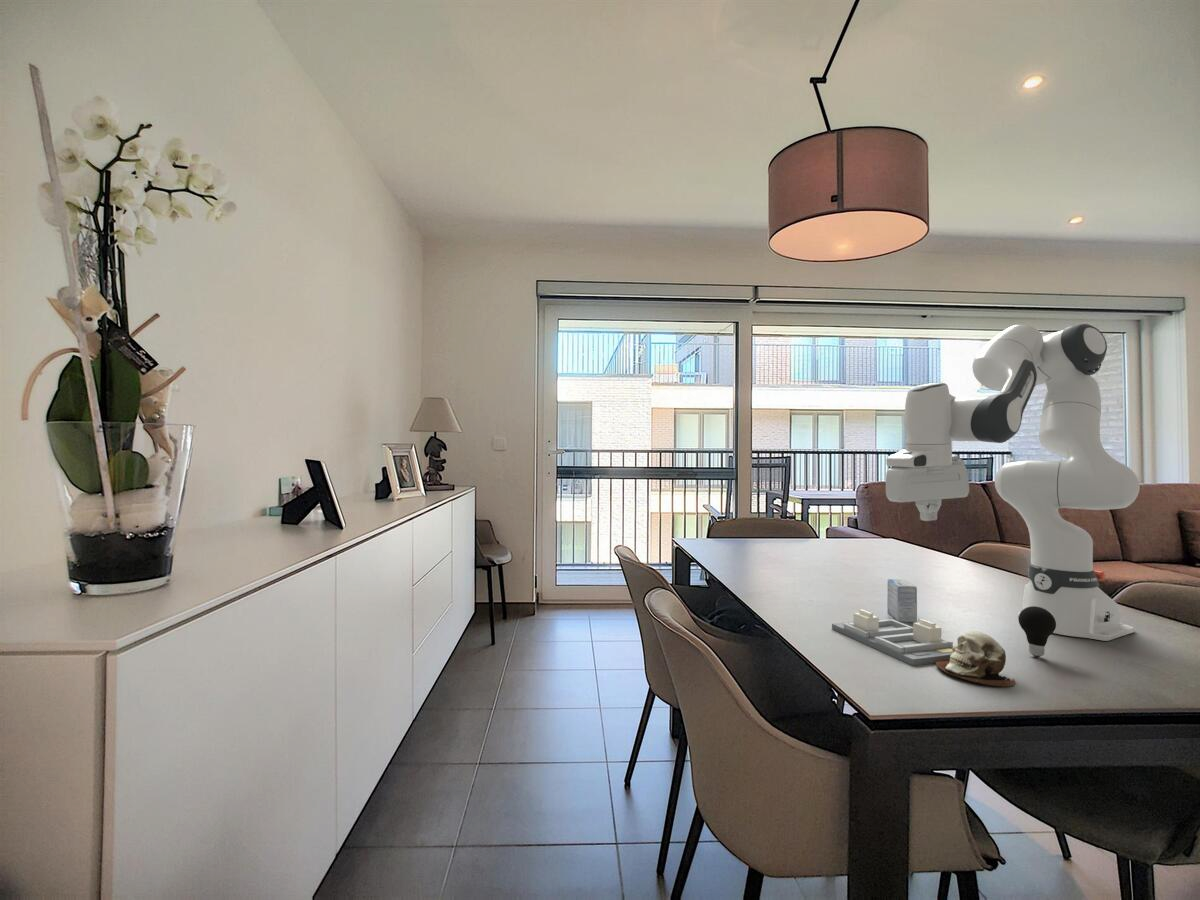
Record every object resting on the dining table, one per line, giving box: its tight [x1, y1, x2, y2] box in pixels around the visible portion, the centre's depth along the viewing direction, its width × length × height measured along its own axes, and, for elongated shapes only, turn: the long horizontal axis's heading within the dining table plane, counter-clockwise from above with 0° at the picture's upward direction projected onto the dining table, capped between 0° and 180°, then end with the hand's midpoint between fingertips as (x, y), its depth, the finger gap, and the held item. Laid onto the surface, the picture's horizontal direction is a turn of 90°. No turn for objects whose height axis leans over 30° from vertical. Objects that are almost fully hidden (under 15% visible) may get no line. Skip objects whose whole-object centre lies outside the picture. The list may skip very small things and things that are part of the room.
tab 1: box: [852, 608, 879, 632], centre depth 120 cm, size 3×4×4 cm
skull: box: [935, 630, 1016, 687], centre depth 101 cm, size 12×10×10 cm
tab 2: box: [912, 618, 942, 643], centre depth 113 cm, size 3×4×4 cm
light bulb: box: [1017, 606, 1056, 658], centre depth 109 cm, size 6×6×10 cm
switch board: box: [831, 618, 954, 667], centre depth 117 cm, size 22×14×2 cm, turn 17°
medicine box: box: [886, 578, 918, 624], centre depth 135 cm, size 8×4×9 cm, turn 168°
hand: (928, 520), depth 120 cm, fingers closed
